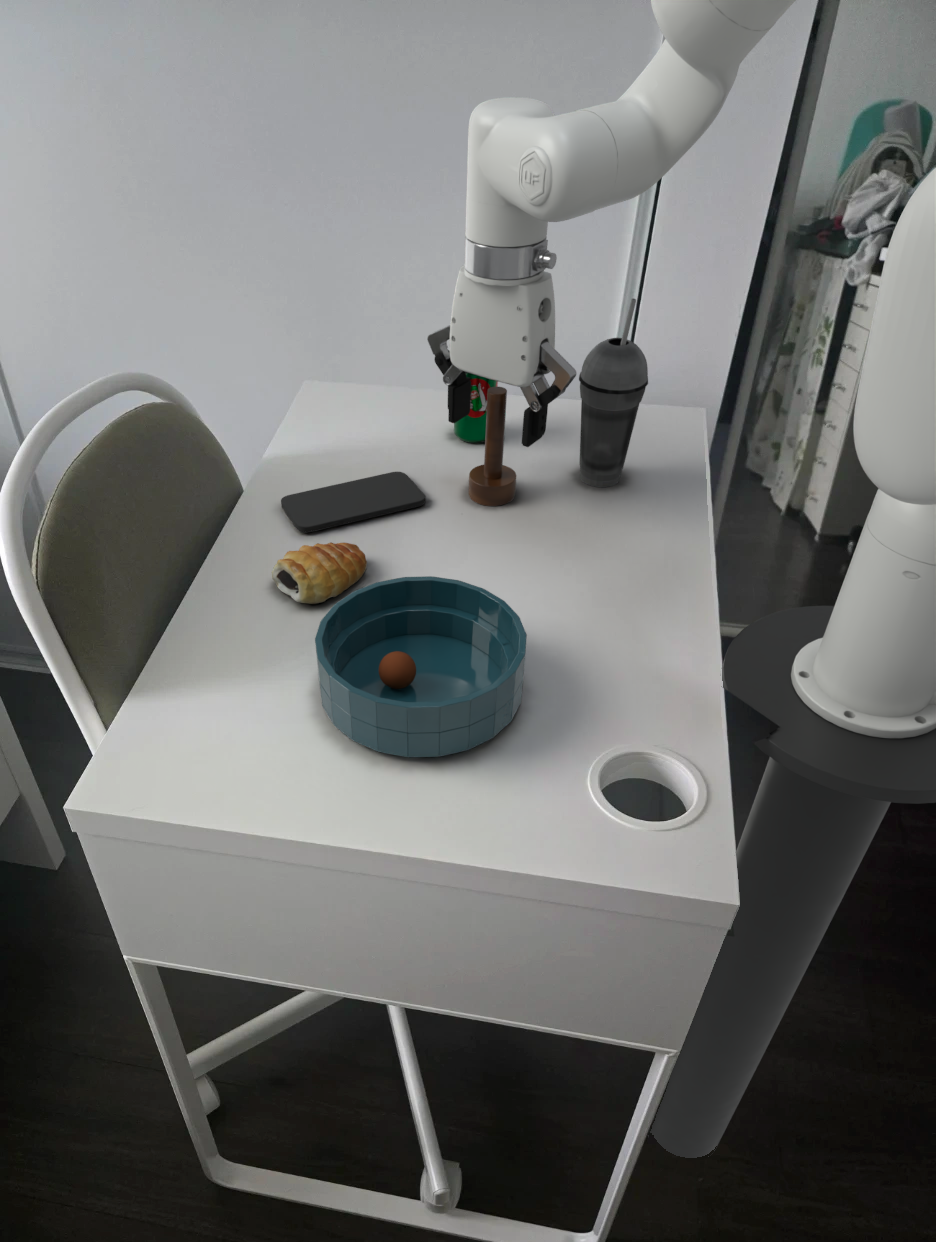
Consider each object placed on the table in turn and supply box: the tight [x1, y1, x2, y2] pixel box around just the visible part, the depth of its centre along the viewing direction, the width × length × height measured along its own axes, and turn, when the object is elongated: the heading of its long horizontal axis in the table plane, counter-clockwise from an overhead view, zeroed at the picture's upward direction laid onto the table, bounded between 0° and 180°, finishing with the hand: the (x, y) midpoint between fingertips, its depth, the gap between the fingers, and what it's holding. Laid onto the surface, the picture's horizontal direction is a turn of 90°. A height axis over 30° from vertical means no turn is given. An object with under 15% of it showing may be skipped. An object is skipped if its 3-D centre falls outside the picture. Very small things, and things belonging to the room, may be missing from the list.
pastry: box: [271, 541, 368, 605], centre depth 92 cm, size 9×7×4 cm
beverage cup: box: [578, 297, 649, 488], centre depth 101 cm, size 7×7×20 cm
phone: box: [280, 471, 426, 533], centre depth 104 cm, size 7×1×15 cm
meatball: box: [379, 651, 416, 689], centre depth 80 cm, size 3×3×3 cm
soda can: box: [453, 373, 499, 444], centre depth 112 cm, size 5×5×12 cm
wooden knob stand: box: [468, 386, 517, 507], centre depth 101 cm, size 5×5×12 cm
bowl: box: [314, 575, 528, 758], centre depth 79 cm, size 17×17×6 cm
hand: (494, 429), depth 100 cm, fingers open, 8 cm apart
